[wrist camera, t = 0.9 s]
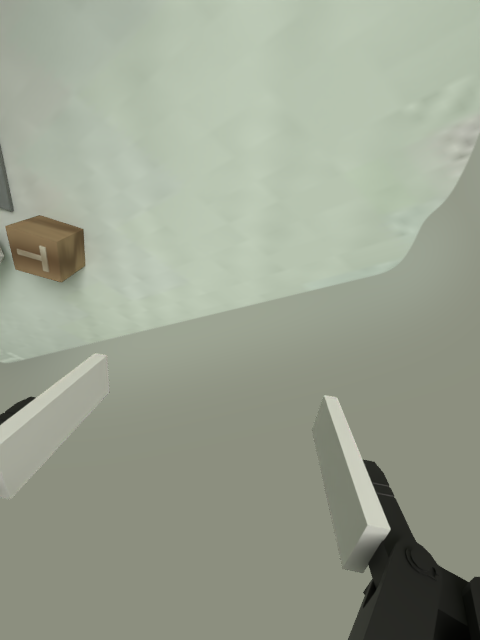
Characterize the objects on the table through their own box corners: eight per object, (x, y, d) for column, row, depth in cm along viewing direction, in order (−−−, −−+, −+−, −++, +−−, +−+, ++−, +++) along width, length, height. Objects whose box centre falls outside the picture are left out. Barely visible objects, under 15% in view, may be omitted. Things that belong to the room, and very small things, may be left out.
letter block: (40, 215, 35) (4, 226, 30) (83, 229, 36) (55, 242, 31) (45, 253, 38) (14, 269, 33) (85, 265, 39) (60, 282, 34)
